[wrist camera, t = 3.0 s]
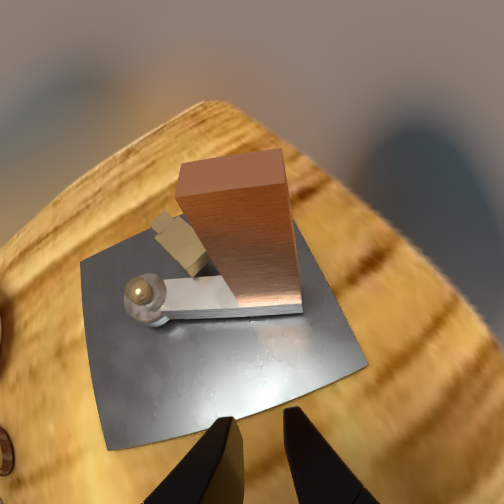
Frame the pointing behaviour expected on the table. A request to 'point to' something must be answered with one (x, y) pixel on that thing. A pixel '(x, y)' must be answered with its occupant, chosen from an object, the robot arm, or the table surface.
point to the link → (232, 243)
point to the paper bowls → (0, 329)
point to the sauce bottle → (5, 454)
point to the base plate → (202, 350)
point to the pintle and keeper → (171, 253)
